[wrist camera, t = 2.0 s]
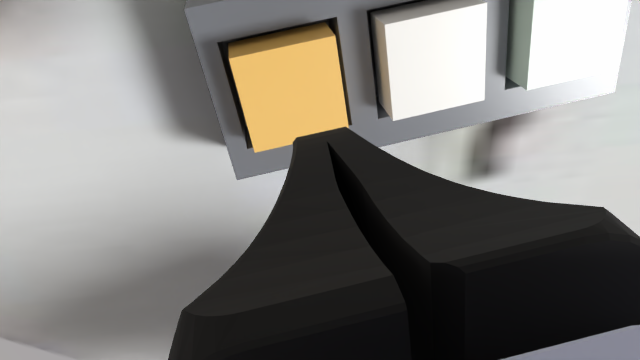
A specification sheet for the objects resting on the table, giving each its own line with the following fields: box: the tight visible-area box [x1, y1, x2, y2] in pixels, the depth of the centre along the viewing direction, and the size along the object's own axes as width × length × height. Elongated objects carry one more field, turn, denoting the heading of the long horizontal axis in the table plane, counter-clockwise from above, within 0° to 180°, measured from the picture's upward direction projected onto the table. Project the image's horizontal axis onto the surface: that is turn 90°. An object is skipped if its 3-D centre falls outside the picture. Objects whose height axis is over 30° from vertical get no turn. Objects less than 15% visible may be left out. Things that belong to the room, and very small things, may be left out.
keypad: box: [184, 0, 632, 180], centre depth 18 cm, size 15×6×3 cm, turn 99°
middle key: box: [370, 0, 487, 121], centre depth 17 cm, size 3×3×2 cm
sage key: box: [505, 0, 628, 90], centre depth 17 cm, size 3×3×2 cm
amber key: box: [228, 22, 349, 153], centre depth 16 cm, size 3×3×2 cm
